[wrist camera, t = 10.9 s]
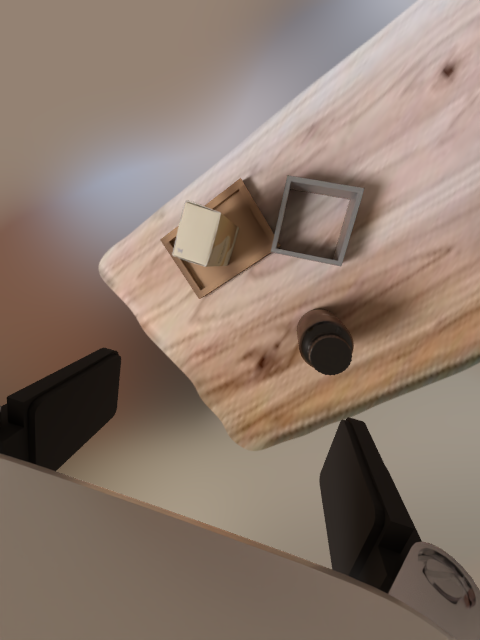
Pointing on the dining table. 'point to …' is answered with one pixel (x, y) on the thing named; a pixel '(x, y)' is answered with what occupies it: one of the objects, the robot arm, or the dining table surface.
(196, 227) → the skincare box
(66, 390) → the robot arm
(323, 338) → the supplement bottle
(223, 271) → the tray
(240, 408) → the dining table surface
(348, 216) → the holder
